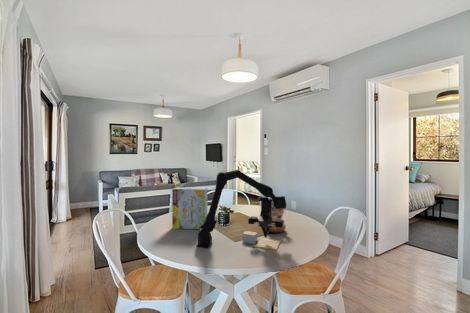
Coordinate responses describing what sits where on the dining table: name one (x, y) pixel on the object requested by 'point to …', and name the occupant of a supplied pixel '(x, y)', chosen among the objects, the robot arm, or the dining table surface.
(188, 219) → the snack box
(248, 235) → the stub
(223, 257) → the dining table surface
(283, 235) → the dining table surface
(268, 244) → the pad
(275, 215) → the ceramic jug
